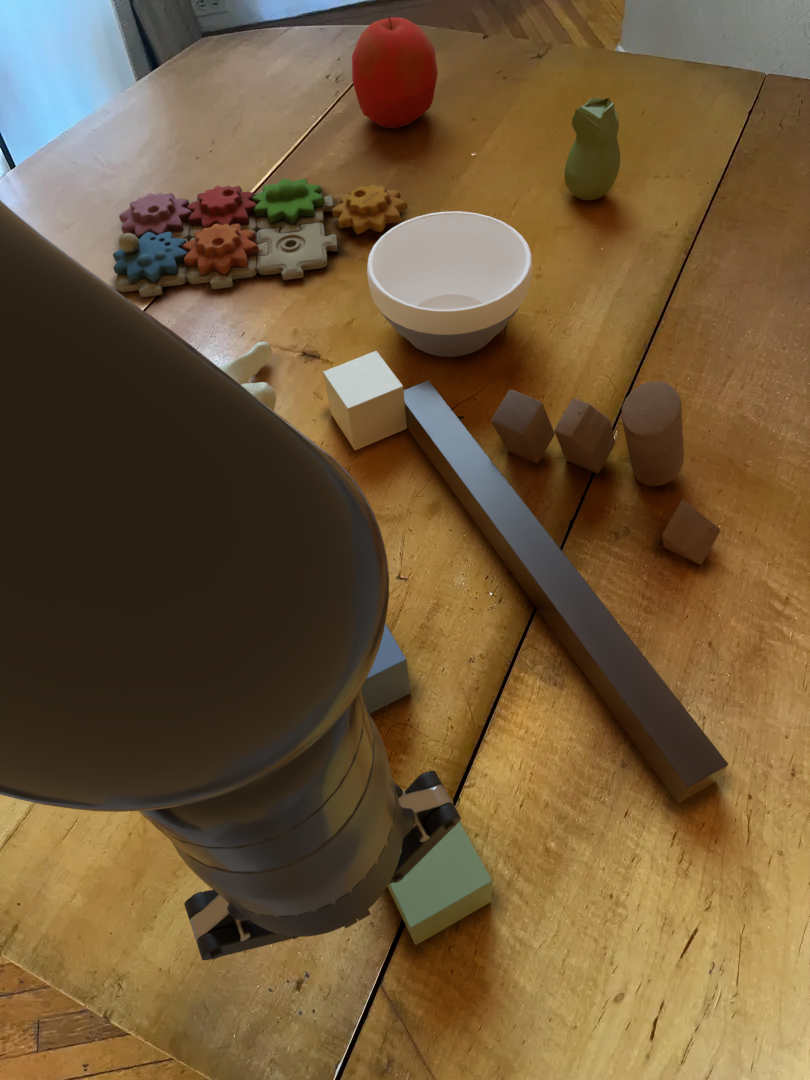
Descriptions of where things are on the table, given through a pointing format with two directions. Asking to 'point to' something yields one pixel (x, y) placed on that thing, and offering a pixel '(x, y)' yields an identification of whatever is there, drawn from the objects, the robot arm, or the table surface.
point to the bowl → (449, 280)
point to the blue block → (386, 675)
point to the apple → (394, 72)
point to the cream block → (366, 399)
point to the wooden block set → (591, 439)
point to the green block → (442, 886)
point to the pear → (593, 150)
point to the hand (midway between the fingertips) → (350, 902)
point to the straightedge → (566, 602)
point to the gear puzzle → (240, 233)
